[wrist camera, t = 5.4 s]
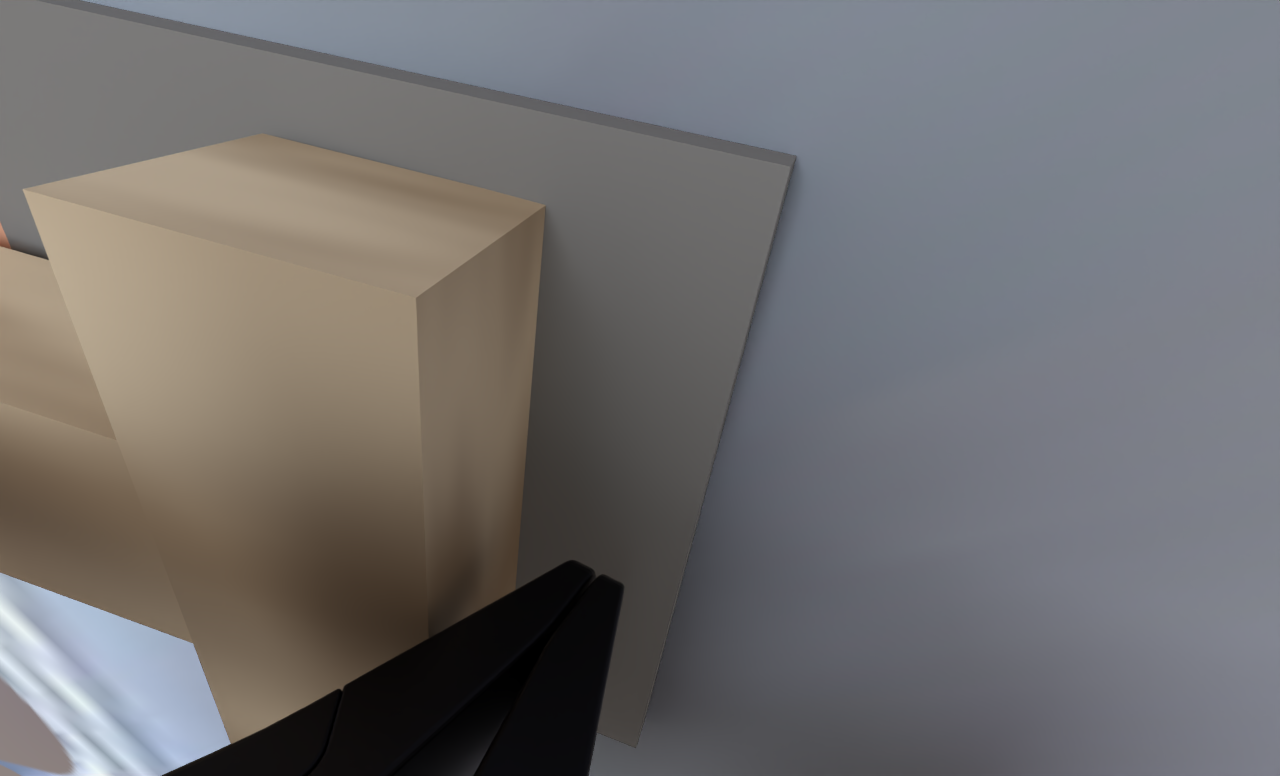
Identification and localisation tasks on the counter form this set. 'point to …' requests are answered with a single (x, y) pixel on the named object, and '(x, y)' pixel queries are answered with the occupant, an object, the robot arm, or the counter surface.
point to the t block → (270, 407)
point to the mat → (570, 265)
